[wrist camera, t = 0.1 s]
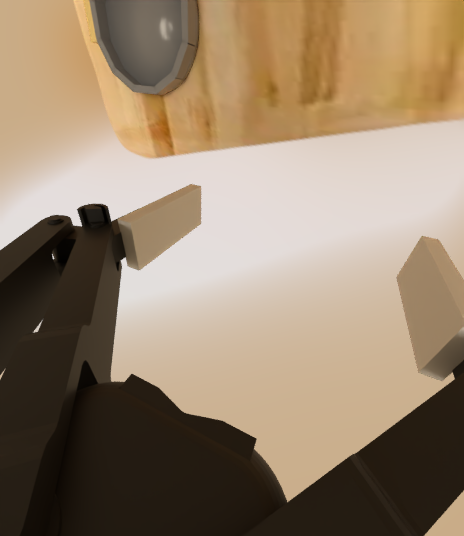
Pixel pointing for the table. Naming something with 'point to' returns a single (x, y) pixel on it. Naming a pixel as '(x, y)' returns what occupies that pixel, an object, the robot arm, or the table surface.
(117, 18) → the dish
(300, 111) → the table surface
